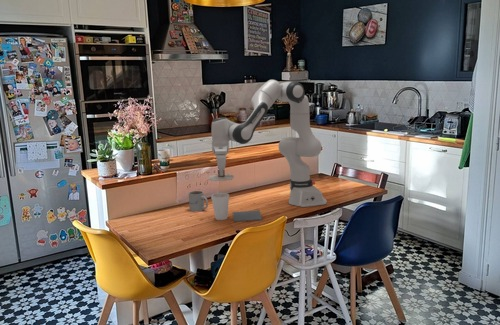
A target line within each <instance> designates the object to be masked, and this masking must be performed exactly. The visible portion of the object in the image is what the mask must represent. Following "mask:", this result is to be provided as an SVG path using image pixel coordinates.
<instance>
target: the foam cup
mask: <svg viewBox="0 0 500 325" xmlns="http://www.w3.org/2000/svg"><path fill="white" fill-rule="evenodd" d="M210 197H211V202H212V208H213V212H214V218H215V220H217V221H223V220H224V221H225V220H226V219H227V220H228V215H229V203H230V202H229V201H230V194H229V193H227V192H216V193H212V194H211V196H210Z"/></svg>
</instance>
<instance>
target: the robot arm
mask: <svg viewBox="0 0 500 325" xmlns="http://www.w3.org/2000/svg"><path fill="white" fill-rule="evenodd" d="M276 101H278V102H284V103H288V104H289V105H290V106H289V107H290V110H289V114H290V115H289V119H290V120H289V121H290V122H289V123H290V124H289V125H290V128H291V129H292V130H293V131H294V132H296V133H297V134H298V137H292V136H290V137H283V138H281V140H280V141H279V142H278V151H279V153H280V154H281V155H282V156H284V158H285V159H286V161H287V163H288V166H289V170H290V180H289V189H290V192H289V198H288V204H290V205H292V206H296V207H302V208H306V207H315V206H323V205H327V203H328V201H327V199H326V198H324V197H323V193H322V191H321V190H320V189H319V188H317V187H316V186H314V185H315V184H316V181H315V180H312V179H311V178H310V170H311V169H310V166H309V164H307V162H304V161H303V160H302V157H303V158H305V157H306V158H313V157H318V156H319V155H320V154H321V151H322V143H321V141H320V140H319V139H318V138H317V137H315V135H314V134H313V132H312V129H311V121H310V120H311V119H310V117H311V116H310V102H309V98H308V96H307V95H306V94H305V89H304V86H303V84H302V83H300V82H297V81H284V82H279V81H278V80H276V79H269V80H267V81H265V83H264V84H262V85H261V86H260V87H259V88H258V89H257V90H256V91H255V93H254V94H253V96H252V97H251V99H250V102H251V106H252V108H253V111H252V112H251V114H250V115H249V116H248V118H247V119H246V120H245V122H242V123H236V122H234V121H232V120H229V119H228V118H227V117H217V118H214V119H213V120H212V122H211V127H210V128H211V130H210V132H211V133H210V134H211V138H212V139H211V152H212V153H213V154H214V156H215V158H216V165H217V168H218V169H217V170H219V171H220V176H223V170H225V169H226V166H227V165H226V164H227V155H228V153H230V150H229V149H230V141H232V142H236V143H238V144H241V145H244V144H245V145H246V144H248V143H249V142H250V141H251V140H252V138H253V137H254V133H255V131H256V129H257V127H258V126H259V125H260V123H261V122H262V120H263V119H264V118H265V116H266V115H267V113H268V110H269V109H270V108H271V107H272V106H273V105H274V103H275V102H276Z"/></svg>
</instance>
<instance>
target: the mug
mask: <svg viewBox="0 0 500 325" xmlns="http://www.w3.org/2000/svg"><path fill="white" fill-rule="evenodd" d="M188 202H189V203H188V204H189V205H188V206H189V211H190V212H193V213H194V212H195V213H196V212H197V213H198V212H202V211H204V210H205V209H208V206H209V200H208V198H207V197H206V196H205V194H204V191H202V190H193V191H190V192H188Z"/></svg>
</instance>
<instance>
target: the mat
mask: <svg viewBox="0 0 500 325" xmlns="http://www.w3.org/2000/svg"><path fill="white" fill-rule="evenodd" d="M232 217H233V222H234V223H235V222H236V223H237V222H238V223H239V222H251V221H263V216H262V215H261V211H260V210H245V211H243V210H242V211H232Z"/></svg>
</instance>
